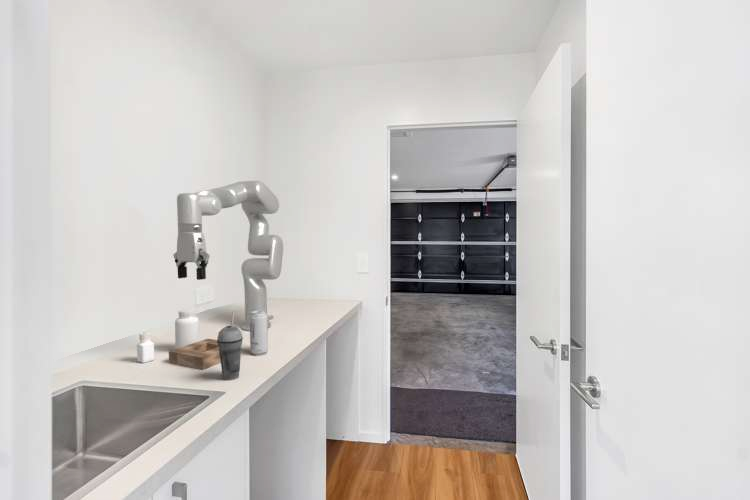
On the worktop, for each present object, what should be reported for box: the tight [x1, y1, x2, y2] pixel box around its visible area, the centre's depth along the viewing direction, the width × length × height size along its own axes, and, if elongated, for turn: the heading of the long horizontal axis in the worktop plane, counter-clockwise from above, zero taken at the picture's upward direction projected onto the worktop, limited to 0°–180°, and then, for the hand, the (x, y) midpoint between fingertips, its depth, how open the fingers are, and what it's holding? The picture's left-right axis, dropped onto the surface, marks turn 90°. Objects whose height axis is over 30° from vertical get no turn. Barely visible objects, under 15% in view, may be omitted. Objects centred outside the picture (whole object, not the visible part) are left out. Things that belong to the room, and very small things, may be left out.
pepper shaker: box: [136, 331, 155, 364], centre depth 129 cm, size 4×4×10 cm
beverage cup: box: [216, 310, 244, 381], centre depth 114 cm, size 7×7×20 cm
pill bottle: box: [174, 308, 200, 349], centre depth 141 cm, size 8×8×15 cm
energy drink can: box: [249, 311, 269, 356], centre depth 136 cm, size 6×6×15 cm
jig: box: [168, 338, 221, 371], centre depth 131 cm, size 16×16×4 cm
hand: (191, 278), depth 132 cm, fingers open, 9 cm apart
